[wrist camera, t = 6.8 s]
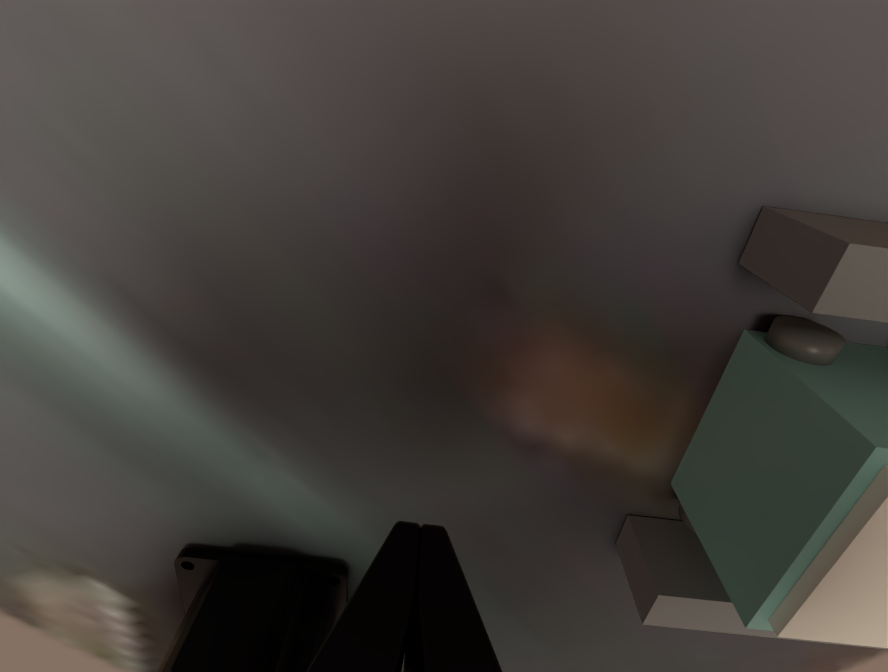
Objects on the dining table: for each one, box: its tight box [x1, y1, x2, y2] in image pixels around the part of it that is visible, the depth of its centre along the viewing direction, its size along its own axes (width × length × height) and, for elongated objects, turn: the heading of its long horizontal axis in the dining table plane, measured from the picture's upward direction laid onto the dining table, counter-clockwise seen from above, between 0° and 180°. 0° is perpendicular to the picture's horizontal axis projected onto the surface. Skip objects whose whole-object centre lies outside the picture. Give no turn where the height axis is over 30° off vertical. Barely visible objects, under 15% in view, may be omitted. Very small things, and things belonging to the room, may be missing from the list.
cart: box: [671, 316, 888, 648], centre depth 13 cm, size 7×6×5 cm
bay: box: [615, 206, 888, 649], centre depth 14 cm, size 12×8×3 cm
